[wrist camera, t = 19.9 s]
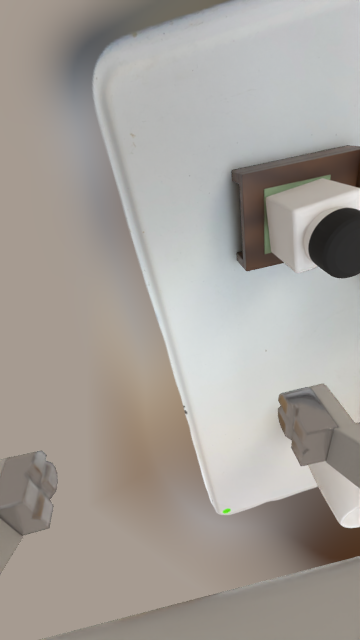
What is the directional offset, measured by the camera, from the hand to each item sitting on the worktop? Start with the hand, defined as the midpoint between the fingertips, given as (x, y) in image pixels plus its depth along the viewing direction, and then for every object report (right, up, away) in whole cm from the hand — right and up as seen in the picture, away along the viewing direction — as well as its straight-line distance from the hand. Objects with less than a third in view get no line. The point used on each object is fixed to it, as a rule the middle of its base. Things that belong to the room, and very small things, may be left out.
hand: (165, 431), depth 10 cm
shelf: (+15, +19, +30) cm, 38 cm away
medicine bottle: (+15, +17, +26) cm, 35 cm away
